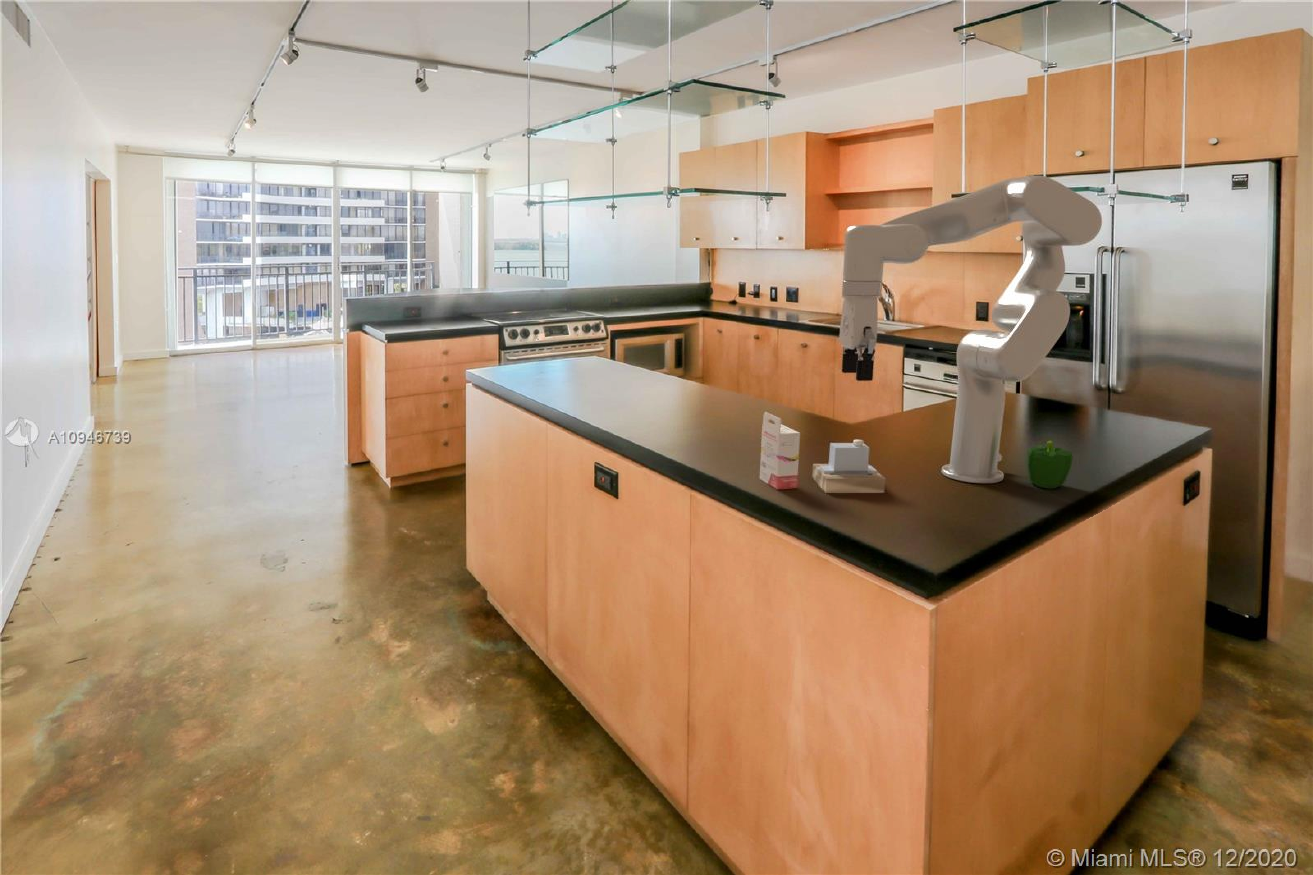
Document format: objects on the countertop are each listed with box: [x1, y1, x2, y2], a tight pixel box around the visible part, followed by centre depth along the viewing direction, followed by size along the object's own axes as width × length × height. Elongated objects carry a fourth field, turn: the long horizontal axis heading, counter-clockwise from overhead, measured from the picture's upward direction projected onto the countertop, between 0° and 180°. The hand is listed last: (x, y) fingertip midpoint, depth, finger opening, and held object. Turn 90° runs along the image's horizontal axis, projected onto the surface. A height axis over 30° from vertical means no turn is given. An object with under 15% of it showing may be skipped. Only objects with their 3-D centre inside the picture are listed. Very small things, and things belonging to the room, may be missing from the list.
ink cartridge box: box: [759, 411, 801, 490], centre depth 162 cm, size 9×5×15 cm, turn 18°
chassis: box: [811, 463, 886, 494], centre depth 163 cm, size 11×12×3 cm
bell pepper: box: [1026, 440, 1074, 489], centre depth 164 cm, size 8×8×10 cm
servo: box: [819, 439, 878, 475], centre depth 162 cm, size 4×11×10 cm, turn 93°
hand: (856, 376), depth 158 cm, fingers open, 9 cm apart
